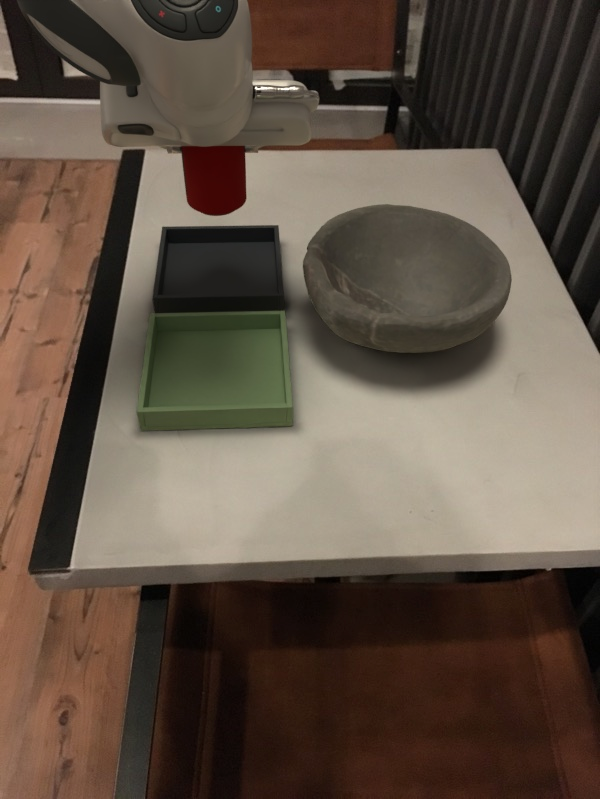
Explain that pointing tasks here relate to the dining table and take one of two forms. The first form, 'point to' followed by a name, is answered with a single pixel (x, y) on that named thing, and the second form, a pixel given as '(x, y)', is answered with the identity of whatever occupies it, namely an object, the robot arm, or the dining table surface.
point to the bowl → (405, 278)
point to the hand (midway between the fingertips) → (212, 146)
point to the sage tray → (215, 371)
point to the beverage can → (214, 178)
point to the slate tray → (219, 269)
